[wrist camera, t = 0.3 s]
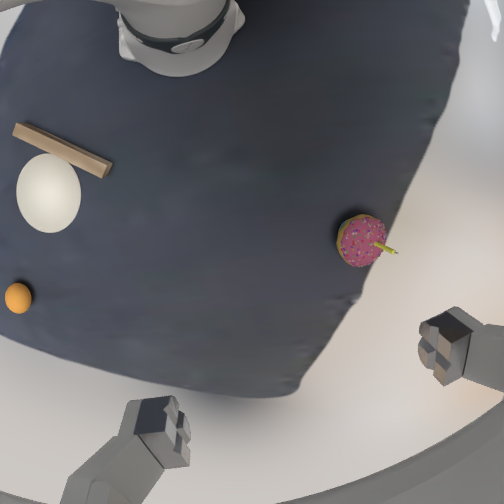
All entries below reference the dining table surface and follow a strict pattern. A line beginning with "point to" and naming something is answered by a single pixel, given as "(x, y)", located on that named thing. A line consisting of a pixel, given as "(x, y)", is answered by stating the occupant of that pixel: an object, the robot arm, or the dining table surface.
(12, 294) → the ball
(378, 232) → the cupcake
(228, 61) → the dining table surface
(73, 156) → the bar
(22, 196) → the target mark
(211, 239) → the dining table surface
